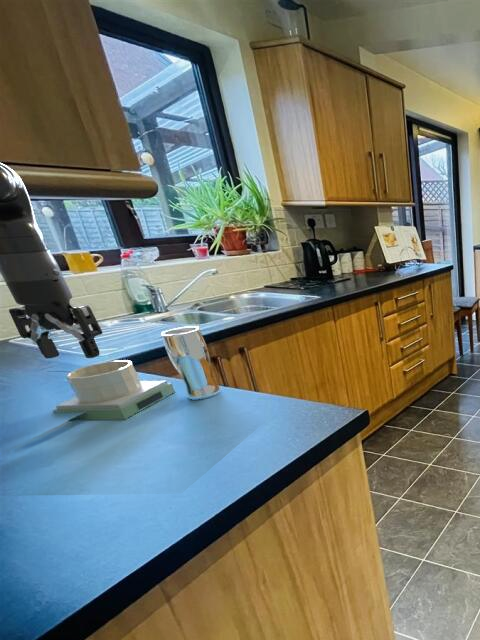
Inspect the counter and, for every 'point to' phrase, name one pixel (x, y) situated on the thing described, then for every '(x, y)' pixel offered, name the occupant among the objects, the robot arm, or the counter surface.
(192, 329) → the beer glass
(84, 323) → the robot arm
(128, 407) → the scale
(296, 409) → the counter surface
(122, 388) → the bowl
